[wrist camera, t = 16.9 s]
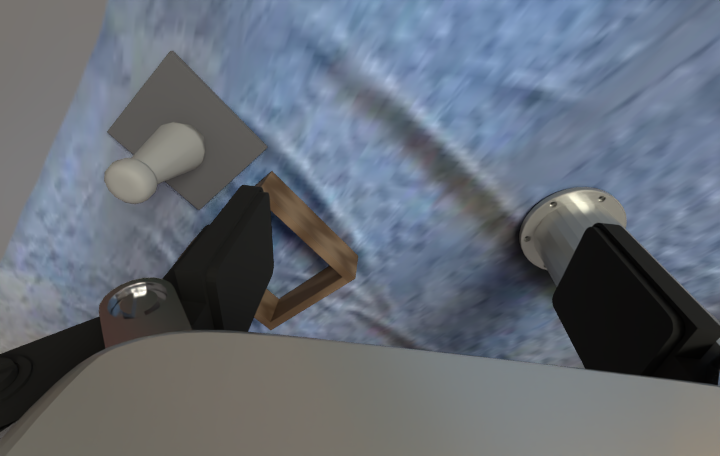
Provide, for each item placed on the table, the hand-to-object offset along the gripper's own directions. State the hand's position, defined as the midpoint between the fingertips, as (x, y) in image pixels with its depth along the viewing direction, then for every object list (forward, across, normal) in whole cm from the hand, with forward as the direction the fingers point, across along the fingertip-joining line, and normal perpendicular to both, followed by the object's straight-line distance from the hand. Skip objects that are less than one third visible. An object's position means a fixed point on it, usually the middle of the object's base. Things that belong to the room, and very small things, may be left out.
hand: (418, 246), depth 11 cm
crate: (+33, +14, +26) cm, 45 cm away
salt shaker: (+33, +24, +11) cm, 42 cm away
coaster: (+33, +25, +11) cm, 43 cm away
